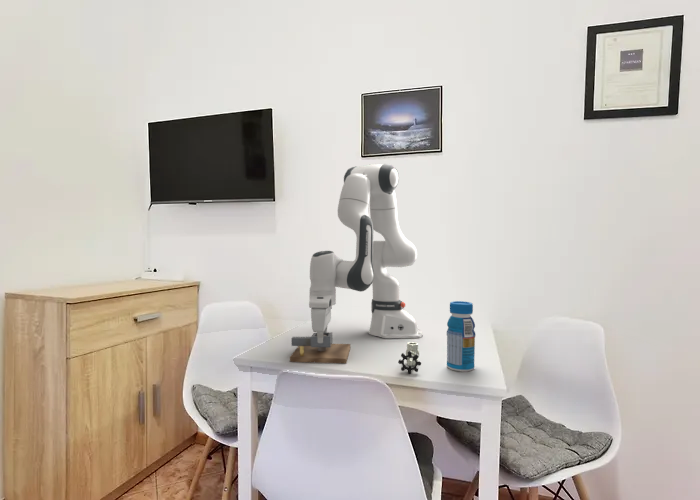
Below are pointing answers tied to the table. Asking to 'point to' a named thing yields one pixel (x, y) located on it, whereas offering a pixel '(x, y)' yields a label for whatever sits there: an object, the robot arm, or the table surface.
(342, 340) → the table surface
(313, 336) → the square loop paddle
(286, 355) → the table surface
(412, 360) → the valve
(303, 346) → the dowel
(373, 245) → the robot arm
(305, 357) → the base
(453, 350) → the beverage bottle
